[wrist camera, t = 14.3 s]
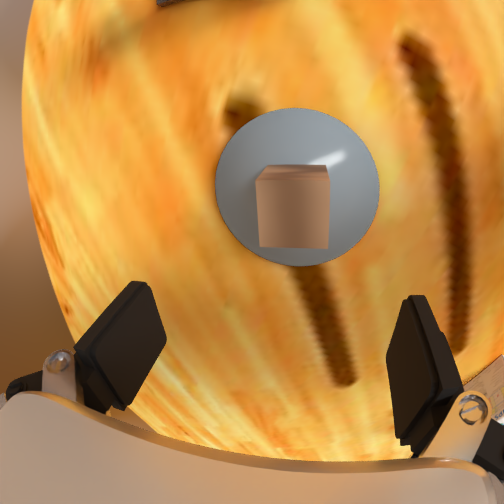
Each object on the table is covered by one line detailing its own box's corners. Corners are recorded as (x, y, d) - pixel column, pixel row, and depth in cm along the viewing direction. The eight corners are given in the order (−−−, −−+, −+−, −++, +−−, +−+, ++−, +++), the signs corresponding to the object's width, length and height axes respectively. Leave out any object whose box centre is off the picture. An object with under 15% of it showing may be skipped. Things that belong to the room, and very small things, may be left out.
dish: (378, 111, 21) (381, 111, 20) (369, 262, 28) (370, 268, 27) (211, 113, 24) (207, 114, 23) (227, 257, 31) (224, 263, 30)
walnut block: (325, 164, 23) (330, 180, 18) (325, 219, 25) (327, 248, 20) (268, 164, 24) (255, 180, 19) (270, 217, 26) (259, 247, 21)
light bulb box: (469, 398, 35) (481, 444, 26) (455, 390, 35) (467, 441, 25) (512, 363, 30) (530, 409, 21) (501, 352, 29) (523, 402, 20)
